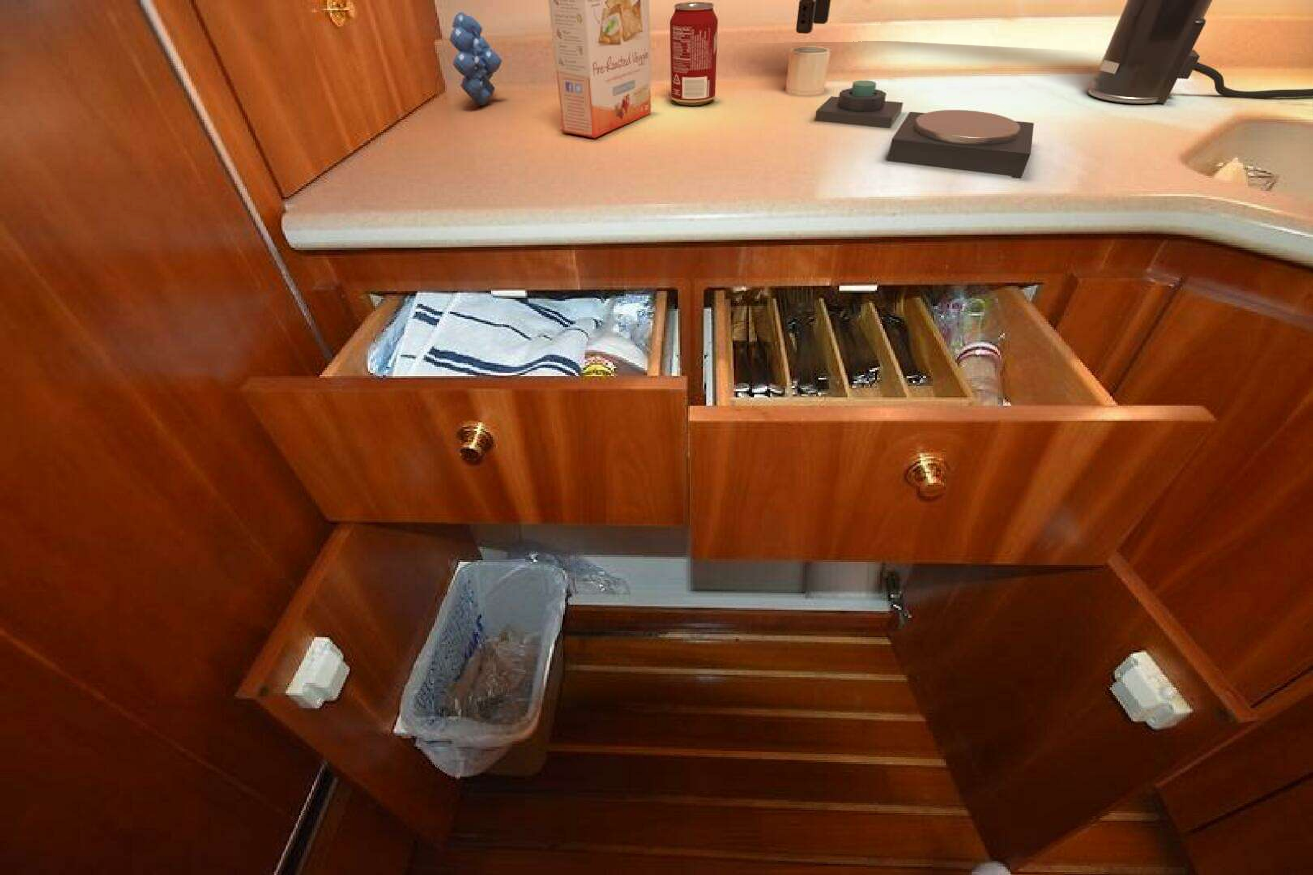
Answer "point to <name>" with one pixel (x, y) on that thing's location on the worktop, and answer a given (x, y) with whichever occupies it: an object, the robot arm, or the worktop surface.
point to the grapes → (474, 58)
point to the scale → (963, 142)
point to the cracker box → (601, 63)
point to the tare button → (863, 88)
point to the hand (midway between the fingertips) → (811, 28)
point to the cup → (807, 70)
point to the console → (860, 110)
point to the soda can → (693, 53)
